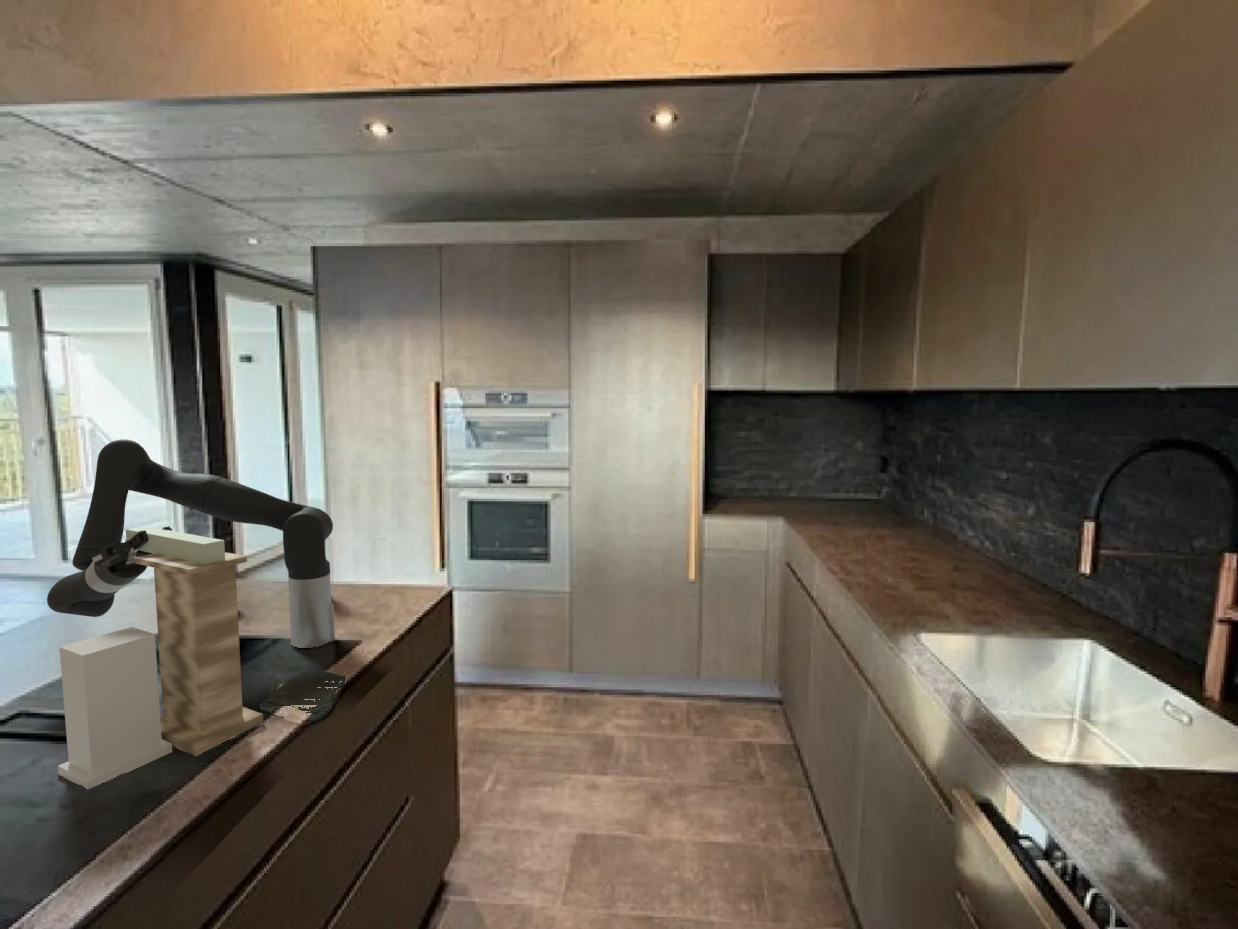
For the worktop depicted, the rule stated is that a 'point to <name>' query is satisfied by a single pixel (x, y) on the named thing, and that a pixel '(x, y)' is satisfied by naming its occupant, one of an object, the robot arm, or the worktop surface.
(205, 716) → the stand
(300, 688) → the stone slab
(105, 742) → the pedestal
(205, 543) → the bar
